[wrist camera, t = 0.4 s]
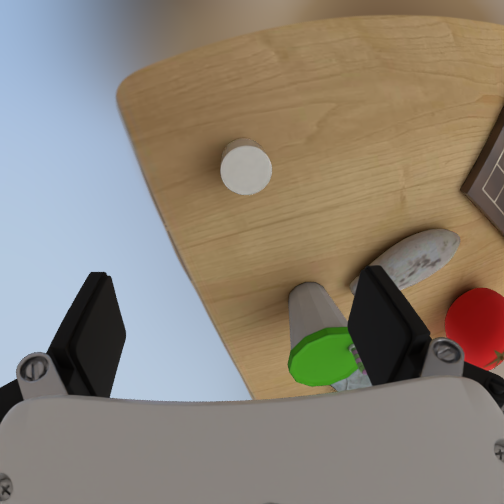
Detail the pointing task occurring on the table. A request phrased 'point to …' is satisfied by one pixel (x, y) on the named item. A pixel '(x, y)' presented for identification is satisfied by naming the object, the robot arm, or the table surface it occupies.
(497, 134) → the board
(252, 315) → the table surface
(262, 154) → the white canister
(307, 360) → the cup
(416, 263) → the decorative stone
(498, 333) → the tomato
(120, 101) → the table surface
